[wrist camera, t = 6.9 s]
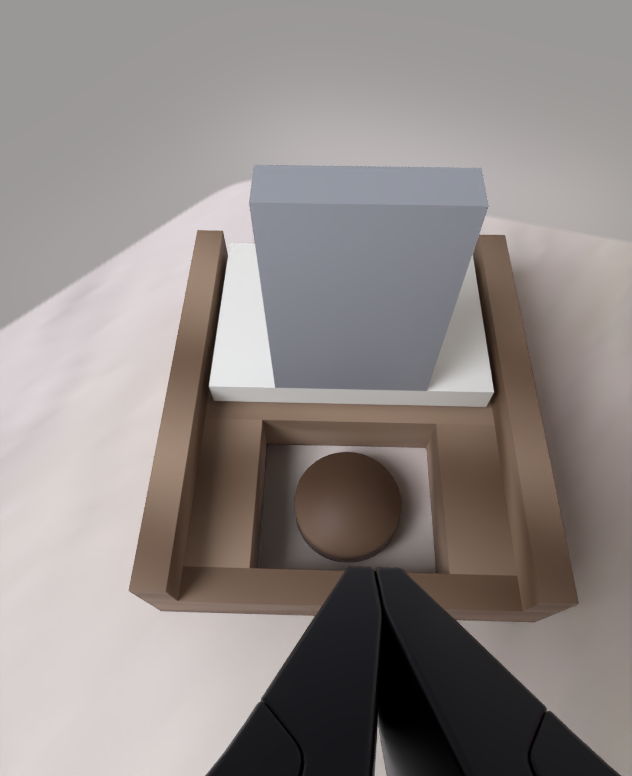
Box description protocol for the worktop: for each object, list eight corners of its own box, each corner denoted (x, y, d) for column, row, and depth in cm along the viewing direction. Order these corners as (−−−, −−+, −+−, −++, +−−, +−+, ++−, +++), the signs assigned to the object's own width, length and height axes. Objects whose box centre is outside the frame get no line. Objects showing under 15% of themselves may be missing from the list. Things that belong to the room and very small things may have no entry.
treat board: (534, 622, 18) (578, 604, 15) (161, 610, 18) (128, 590, 15) (482, 294, 24) (504, 235, 21) (212, 289, 25) (197, 230, 22)
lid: (486, 406, 19) (595, 207, 11) (213, 400, 19) (145, 201, 12) (465, 265, 22) (539, 37, 15) (233, 261, 22) (189, 34, 15)
